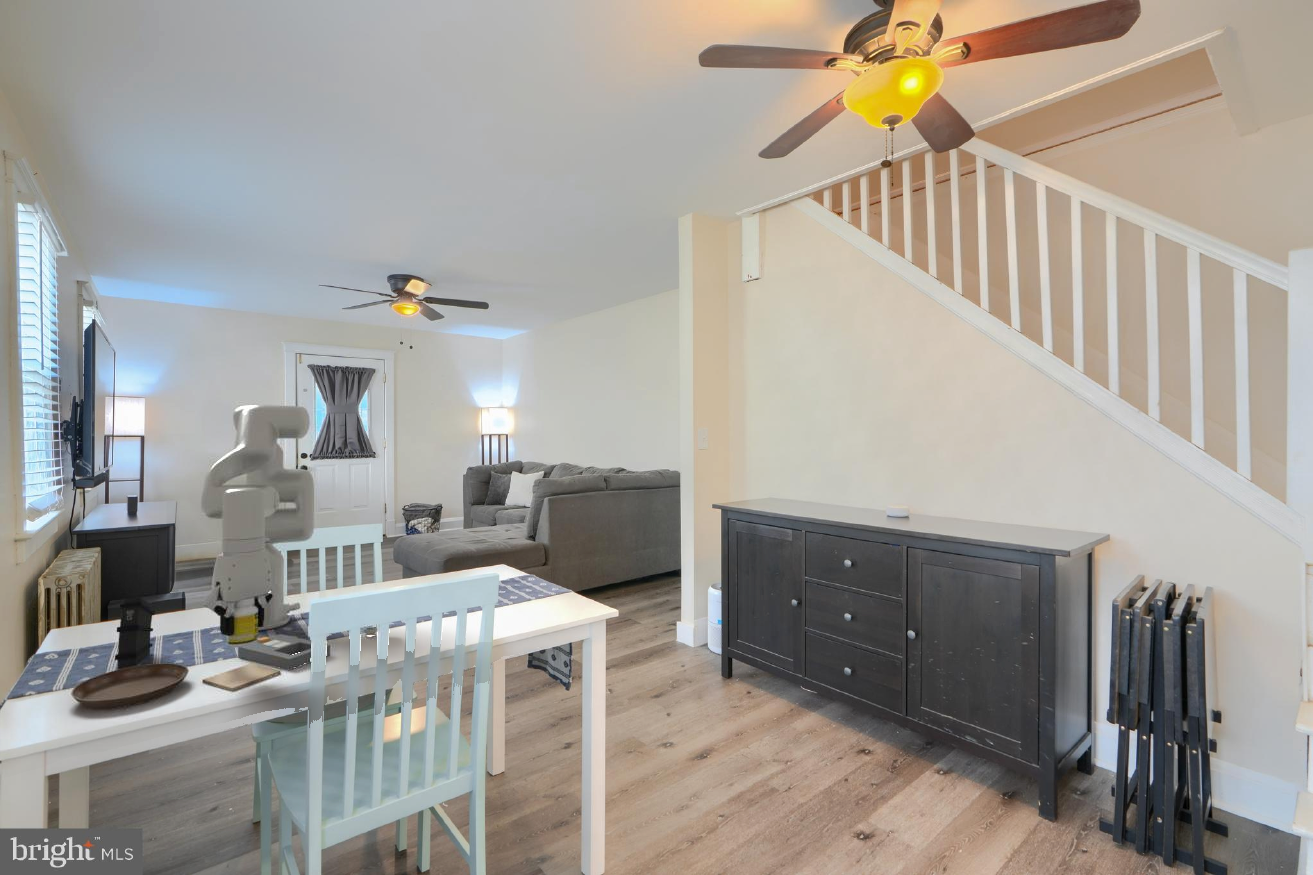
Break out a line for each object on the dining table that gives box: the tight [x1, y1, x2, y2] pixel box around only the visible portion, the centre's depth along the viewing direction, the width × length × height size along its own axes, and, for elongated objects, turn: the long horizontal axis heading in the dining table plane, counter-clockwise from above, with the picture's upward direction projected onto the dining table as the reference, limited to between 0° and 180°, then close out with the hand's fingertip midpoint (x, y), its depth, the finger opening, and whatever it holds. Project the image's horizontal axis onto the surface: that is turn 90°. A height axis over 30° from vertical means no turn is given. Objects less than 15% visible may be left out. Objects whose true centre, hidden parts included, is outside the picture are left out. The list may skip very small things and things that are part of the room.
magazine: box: [114, 596, 156, 670], centre depth 137 cm, size 4×13×15 cm, turn 26°
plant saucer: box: [70, 662, 189, 710], centre depth 120 cm, size 18×18×3 cm
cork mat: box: [201, 663, 281, 692], centre depth 128 cm, size 10×10×1 cm
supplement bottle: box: [226, 598, 259, 648], centre depth 128 cm, size 5×5×10 cm
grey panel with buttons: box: [237, 633, 331, 671], centre depth 141 cm, size 10×18×3 cm, turn 66°
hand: (242, 629), depth 128 cm, fingers closed on supplement bottle, 5 cm apart
